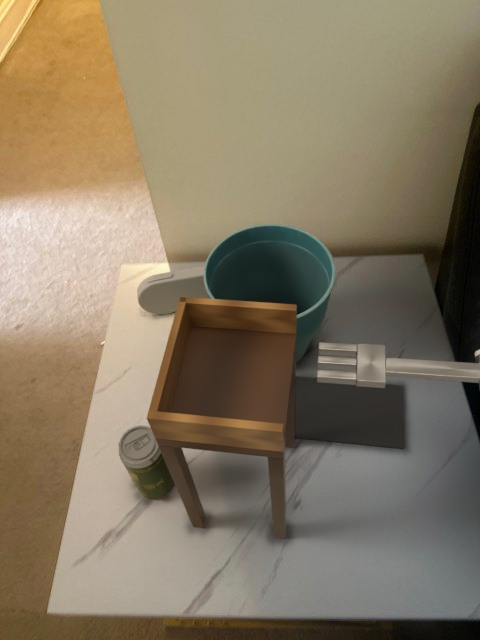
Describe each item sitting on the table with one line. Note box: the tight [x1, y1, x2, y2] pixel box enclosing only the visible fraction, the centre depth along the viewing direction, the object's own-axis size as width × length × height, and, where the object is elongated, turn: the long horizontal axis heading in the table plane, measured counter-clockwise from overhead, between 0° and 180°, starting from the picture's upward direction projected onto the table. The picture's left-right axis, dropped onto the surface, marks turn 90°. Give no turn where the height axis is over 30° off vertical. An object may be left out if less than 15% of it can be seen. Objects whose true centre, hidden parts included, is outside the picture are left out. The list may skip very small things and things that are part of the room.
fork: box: [316, 341, 480, 388], centre depth 50 cm, size 18×4×1 cm, turn 82°
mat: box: [295, 375, 405, 450], centre depth 82 cm, size 22×10×1 cm, turn 82°
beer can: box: [118, 424, 175, 500], centre depth 72 cm, size 5×5×12 cm
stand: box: [146, 297, 297, 540], centre depth 64 cm, size 12×14×30 cm
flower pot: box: [203, 223, 337, 363], centre depth 83 cm, size 18×18×17 cm
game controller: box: [136, 265, 210, 315], centre depth 93 cm, size 20×2×8 cm, turn 100°
